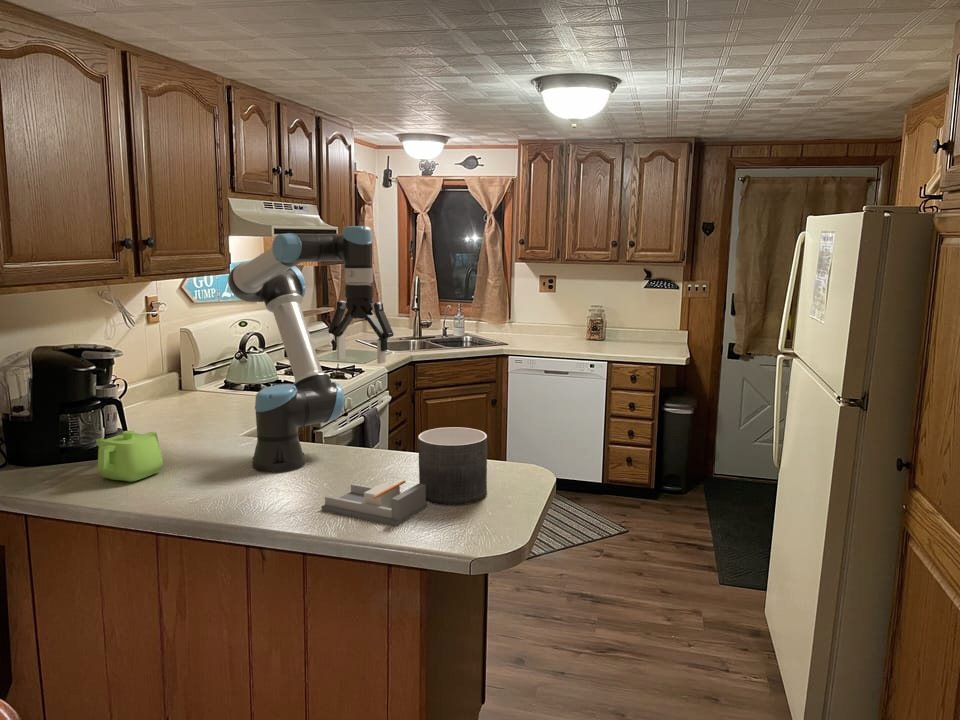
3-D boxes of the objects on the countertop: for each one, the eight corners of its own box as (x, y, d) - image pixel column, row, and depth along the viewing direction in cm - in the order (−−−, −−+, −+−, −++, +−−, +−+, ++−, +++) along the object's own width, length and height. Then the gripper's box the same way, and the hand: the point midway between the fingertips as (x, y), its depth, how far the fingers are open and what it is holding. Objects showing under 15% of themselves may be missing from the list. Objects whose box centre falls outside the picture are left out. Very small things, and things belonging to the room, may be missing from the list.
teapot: (71, 482, 199) (67, 436, 197) (129, 462, 218) (125, 420, 215) (123, 490, 193) (119, 443, 191) (177, 468, 211) (174, 425, 209)
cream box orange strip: (354, 511, 174) (354, 492, 173) (385, 494, 186) (385, 477, 185) (375, 515, 171) (375, 496, 171) (405, 498, 183) (405, 480, 182)
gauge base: (321, 510, 178) (321, 486, 177) (356, 492, 191) (355, 470, 190) (396, 526, 168) (396, 501, 167) (427, 506, 181) (427, 483, 180)
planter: (437, 479, 201) (436, 424, 199) (497, 487, 195) (497, 431, 192) (406, 500, 185) (405, 440, 183) (470, 510, 178) (470, 448, 176)
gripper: (313, 283, 199) (316, 359, 202) (389, 285, 187) (391, 366, 191) (331, 282, 205) (333, 355, 209) (405, 284, 194) (406, 362, 197)
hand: (361, 361), depth 200 cm, fingers open, 13 cm apart
